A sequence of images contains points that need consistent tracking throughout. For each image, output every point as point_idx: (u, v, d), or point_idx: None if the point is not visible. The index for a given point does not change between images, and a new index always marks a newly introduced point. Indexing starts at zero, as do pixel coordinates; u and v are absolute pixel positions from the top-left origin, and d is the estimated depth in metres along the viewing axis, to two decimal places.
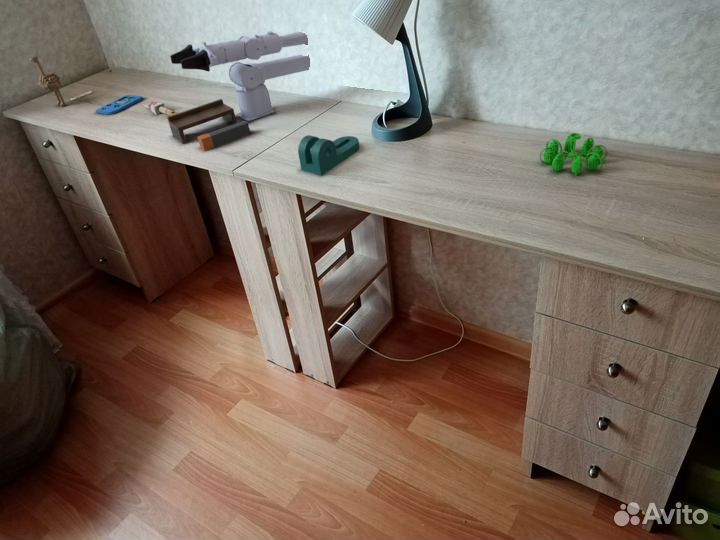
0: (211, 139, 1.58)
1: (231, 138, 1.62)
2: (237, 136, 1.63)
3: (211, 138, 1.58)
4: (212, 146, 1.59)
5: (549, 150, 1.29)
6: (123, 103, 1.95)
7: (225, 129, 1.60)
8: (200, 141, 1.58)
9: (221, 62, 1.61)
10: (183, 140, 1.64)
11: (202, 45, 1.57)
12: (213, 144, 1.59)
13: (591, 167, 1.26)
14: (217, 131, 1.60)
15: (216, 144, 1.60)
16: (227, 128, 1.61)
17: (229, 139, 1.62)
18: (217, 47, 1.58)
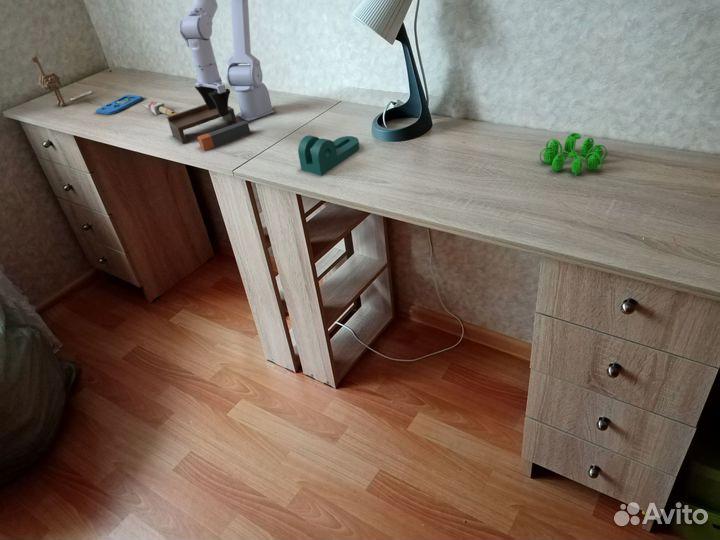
0: (211, 139, 1.58)
1: (231, 138, 1.62)
2: (237, 136, 1.63)
3: (211, 138, 1.58)
4: (212, 146, 1.59)
5: (549, 150, 1.29)
6: (123, 103, 1.95)
7: (225, 129, 1.60)
8: (200, 141, 1.58)
9: (216, 67, 1.49)
10: (183, 140, 1.64)
11: None
12: (213, 144, 1.59)
13: (591, 167, 1.26)
14: (217, 131, 1.60)
15: (216, 144, 1.60)
16: (227, 128, 1.61)
17: (229, 139, 1.62)
18: (201, 72, 1.48)
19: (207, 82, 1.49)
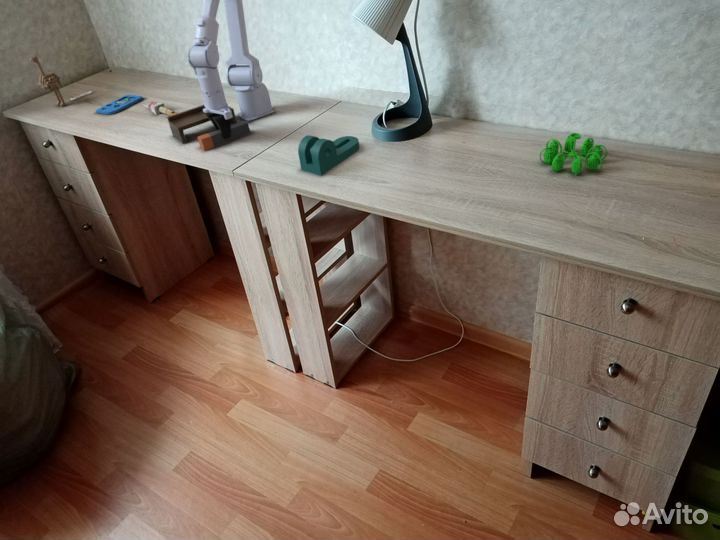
0: (211, 139, 1.58)
1: (231, 138, 1.62)
2: (237, 136, 1.63)
3: (211, 138, 1.58)
4: (212, 146, 1.59)
5: (549, 150, 1.29)
6: (123, 103, 1.95)
7: None
8: (200, 141, 1.58)
9: (223, 94, 1.54)
10: (183, 140, 1.64)
11: None
12: (213, 144, 1.59)
13: (591, 167, 1.26)
14: (217, 131, 1.60)
15: (216, 144, 1.60)
16: None
17: (229, 139, 1.61)
18: (209, 99, 1.52)
19: (214, 108, 1.54)
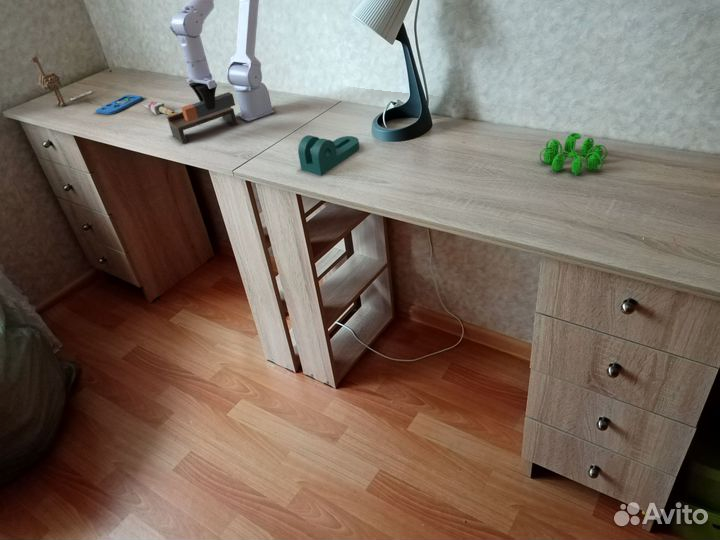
0: (195, 110, 1.57)
1: (215, 109, 1.60)
2: (221, 107, 1.61)
3: (195, 109, 1.57)
4: (196, 117, 1.58)
5: (549, 150, 1.29)
6: (123, 103, 1.95)
7: None
8: (184, 112, 1.56)
9: (206, 63, 1.52)
10: (183, 140, 1.64)
11: None
12: (197, 115, 1.58)
13: (591, 167, 1.26)
14: (201, 102, 1.59)
15: (200, 115, 1.59)
16: None
17: (213, 110, 1.60)
18: (192, 68, 1.51)
19: (198, 78, 1.52)
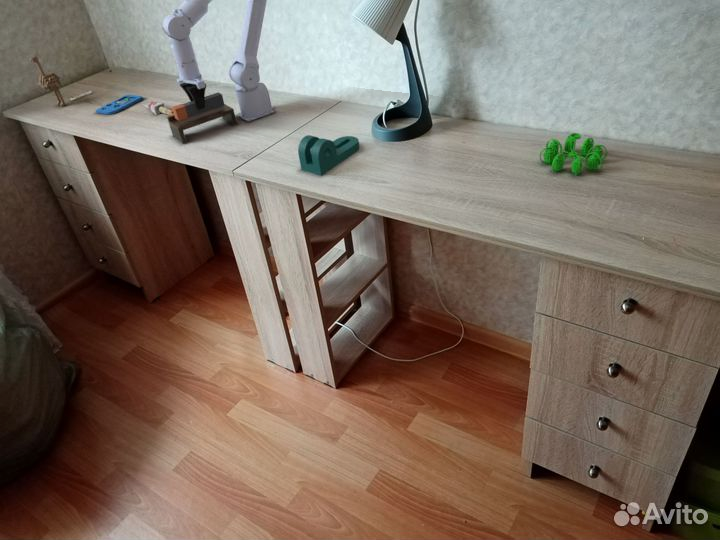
0: (185, 109, 1.62)
1: (205, 109, 1.65)
2: (211, 107, 1.67)
3: (185, 108, 1.62)
4: (186, 116, 1.63)
5: (549, 150, 1.29)
6: (123, 103, 1.95)
7: None
8: (174, 111, 1.62)
9: (196, 64, 1.57)
10: (183, 140, 1.64)
11: None
12: (187, 114, 1.63)
13: (591, 167, 1.26)
14: (191, 102, 1.64)
15: (190, 114, 1.64)
16: None
17: (203, 110, 1.65)
18: (182, 69, 1.56)
19: (187, 78, 1.58)
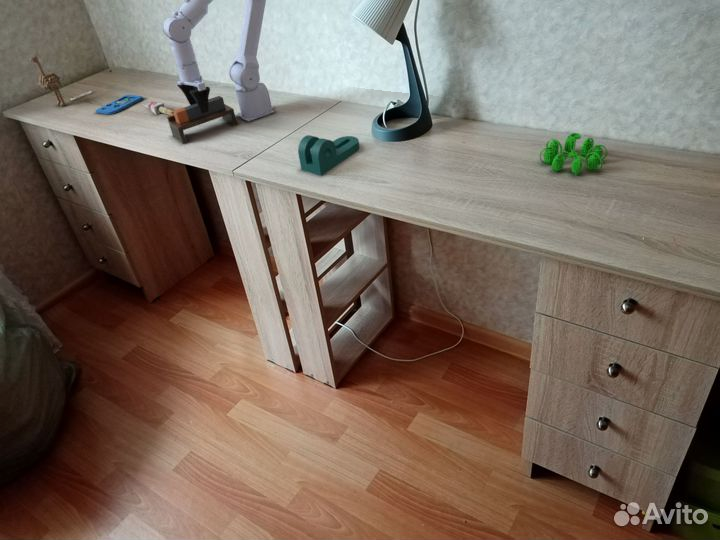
0: (186, 113, 1.63)
1: (206, 112, 1.66)
2: (212, 111, 1.67)
3: (186, 112, 1.62)
4: (187, 120, 1.64)
5: (549, 150, 1.29)
6: (123, 103, 1.95)
7: None
8: (175, 115, 1.62)
9: (196, 66, 1.58)
10: (183, 140, 1.64)
11: None
12: (188, 118, 1.64)
13: (591, 167, 1.26)
14: (192, 105, 1.64)
15: (191, 118, 1.64)
16: None
17: (204, 113, 1.66)
18: (183, 71, 1.56)
19: (188, 80, 1.58)
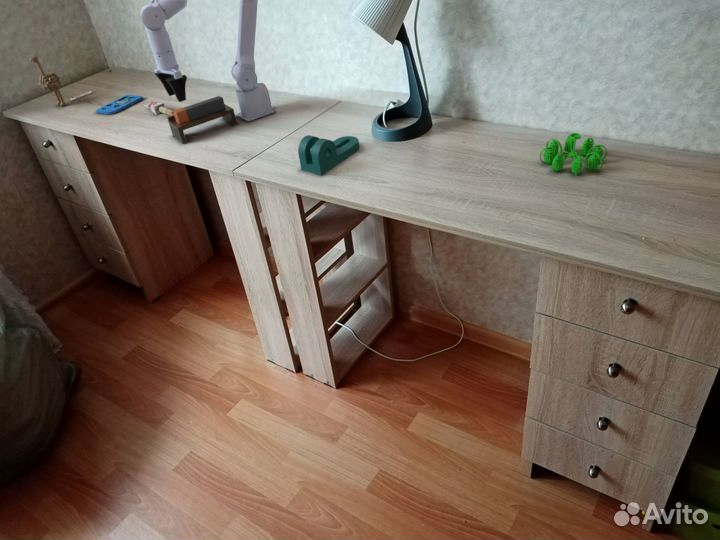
0: (186, 113, 1.63)
1: (206, 112, 1.66)
2: (212, 111, 1.67)
3: (186, 112, 1.62)
4: (187, 120, 1.64)
5: (549, 150, 1.29)
6: (123, 103, 1.95)
7: (200, 103, 1.65)
8: (175, 115, 1.62)
9: (173, 54, 1.57)
10: (183, 140, 1.64)
11: None
12: (188, 118, 1.64)
13: (591, 167, 1.26)
14: (192, 105, 1.64)
15: (191, 118, 1.64)
16: (202, 102, 1.66)
17: (204, 113, 1.66)
18: (159, 59, 1.56)
19: (165, 68, 1.57)
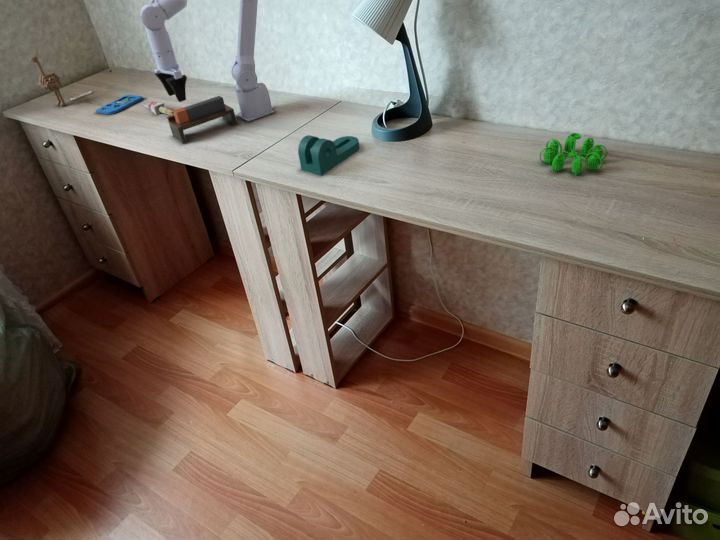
0: (186, 113, 1.63)
1: (206, 112, 1.66)
2: (212, 111, 1.67)
3: (186, 112, 1.62)
4: (187, 120, 1.64)
5: (549, 150, 1.29)
6: (123, 103, 1.95)
7: (200, 103, 1.65)
8: (175, 115, 1.62)
9: (173, 54, 1.57)
10: (183, 140, 1.64)
11: None
12: (188, 118, 1.64)
13: (591, 167, 1.26)
14: (192, 105, 1.64)
15: (191, 118, 1.64)
16: (202, 102, 1.66)
17: (204, 113, 1.66)
18: (159, 59, 1.56)
19: (165, 68, 1.57)
